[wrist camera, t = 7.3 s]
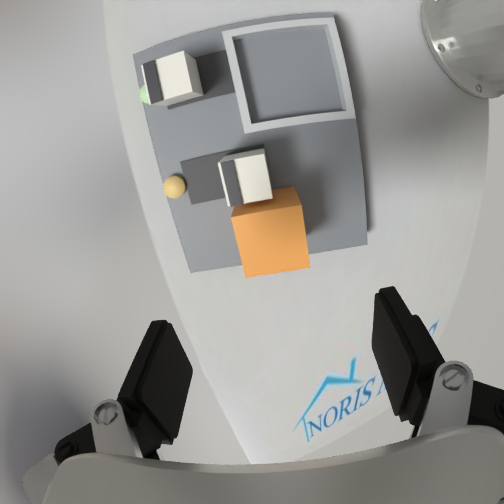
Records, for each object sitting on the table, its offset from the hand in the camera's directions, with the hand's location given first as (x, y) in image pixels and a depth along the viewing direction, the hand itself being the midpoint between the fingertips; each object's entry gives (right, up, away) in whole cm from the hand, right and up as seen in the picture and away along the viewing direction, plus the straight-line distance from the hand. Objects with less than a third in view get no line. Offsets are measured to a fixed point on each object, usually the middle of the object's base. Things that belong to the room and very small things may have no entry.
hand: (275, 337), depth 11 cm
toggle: (-6, +16, +8) cm, 19 cm away
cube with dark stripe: (-1, +10, +11) cm, 15 cm away
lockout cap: (+1, +6, +13) cm, 14 cm away
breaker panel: (-1, +12, +12) cm, 17 cm away
